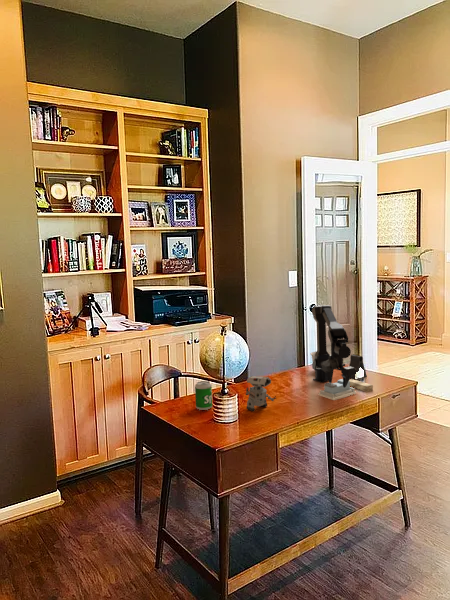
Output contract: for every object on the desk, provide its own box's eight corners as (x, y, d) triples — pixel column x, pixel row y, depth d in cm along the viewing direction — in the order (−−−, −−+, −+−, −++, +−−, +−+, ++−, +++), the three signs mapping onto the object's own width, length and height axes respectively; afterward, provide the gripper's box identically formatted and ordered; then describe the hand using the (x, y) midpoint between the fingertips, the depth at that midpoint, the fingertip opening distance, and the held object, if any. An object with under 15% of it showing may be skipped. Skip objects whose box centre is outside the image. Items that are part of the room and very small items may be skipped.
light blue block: (342, 388, 241) (342, 378, 241) (349, 391, 237) (349, 381, 237) (324, 393, 235) (324, 383, 234) (332, 396, 231) (331, 385, 230)
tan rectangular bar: (345, 385, 250) (345, 380, 250) (351, 384, 252) (351, 378, 252) (367, 392, 239) (367, 386, 238) (372, 391, 241) (372, 385, 240)
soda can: (200, 412, 219) (198, 386, 217) (193, 407, 225) (192, 382, 224) (215, 409, 222) (214, 383, 220) (208, 404, 229) (207, 379, 227)
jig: (333, 400, 228) (333, 395, 228) (318, 395, 236) (318, 390, 236) (356, 393, 236) (356, 388, 236) (340, 389, 244) (340, 384, 244)
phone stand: (358, 374, 268) (357, 353, 267) (366, 377, 263) (366, 355, 262) (346, 377, 263) (346, 355, 262) (355, 380, 259) (355, 357, 257)
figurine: (262, 415, 212) (261, 381, 211) (244, 409, 221) (243, 376, 219) (276, 409, 218) (276, 376, 216) (258, 404, 227) (257, 372, 225)
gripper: (310, 352, 237) (311, 384, 239) (339, 359, 221) (339, 393, 223) (327, 349, 243) (327, 379, 245) (356, 355, 228) (356, 388, 229)
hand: (337, 385), depth 236 cm, fingers open, 9 cm apart
